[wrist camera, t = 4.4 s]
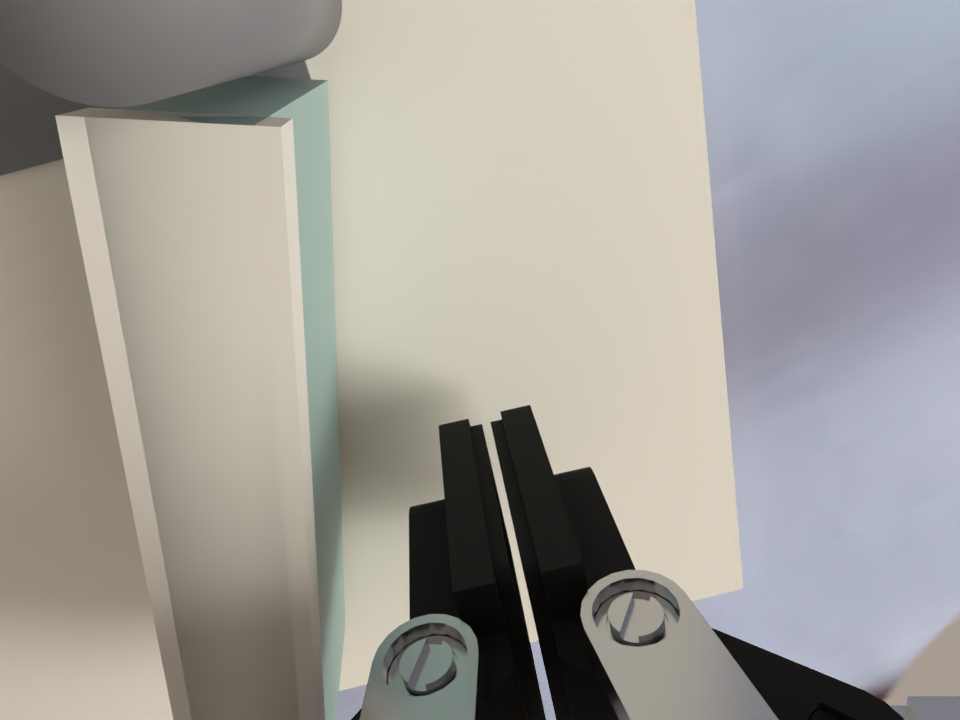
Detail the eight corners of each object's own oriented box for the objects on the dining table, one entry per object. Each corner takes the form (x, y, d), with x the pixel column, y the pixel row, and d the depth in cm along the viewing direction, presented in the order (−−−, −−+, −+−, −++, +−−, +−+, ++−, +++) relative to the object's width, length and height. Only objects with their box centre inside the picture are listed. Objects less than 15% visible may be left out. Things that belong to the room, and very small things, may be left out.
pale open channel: (341, 81, 10) (281, 126, 5) (354, 625, 15) (329, 922, 10) (229, 73, 10) (53, 115, 5) (279, 628, 15) (214, 932, 10)
